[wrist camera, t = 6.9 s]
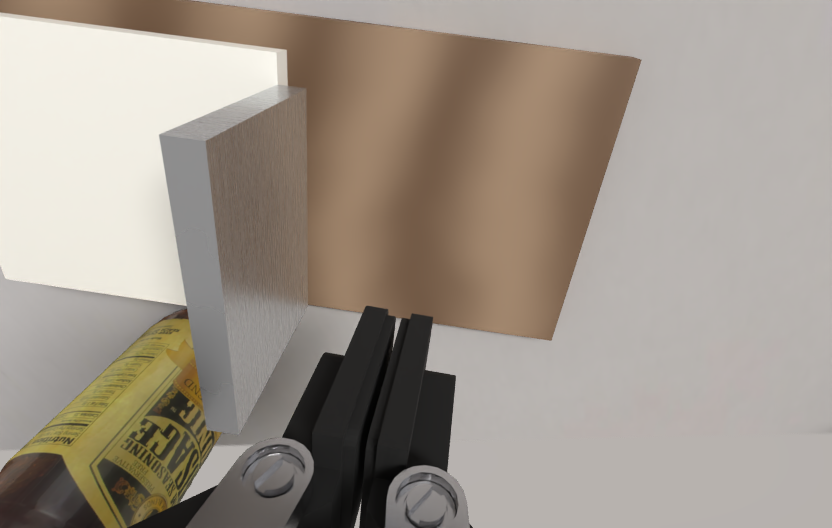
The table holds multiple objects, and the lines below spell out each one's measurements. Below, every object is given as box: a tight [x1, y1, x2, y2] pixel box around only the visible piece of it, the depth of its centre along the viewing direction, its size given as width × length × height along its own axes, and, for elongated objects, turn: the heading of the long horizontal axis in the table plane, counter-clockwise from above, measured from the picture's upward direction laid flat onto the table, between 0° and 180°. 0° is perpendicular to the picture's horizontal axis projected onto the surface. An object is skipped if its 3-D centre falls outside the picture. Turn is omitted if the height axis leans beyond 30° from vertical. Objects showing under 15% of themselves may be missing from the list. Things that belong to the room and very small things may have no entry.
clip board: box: [0, 0, 641, 340], centre depth 21 cm, size 26×13×1 cm, turn 84°
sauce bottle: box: [0, 309, 222, 528], centre depth 18 cm, size 7×6×20 cm
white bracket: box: [0, 13, 308, 435], centre depth 16 cm, size 14×11×10 cm
